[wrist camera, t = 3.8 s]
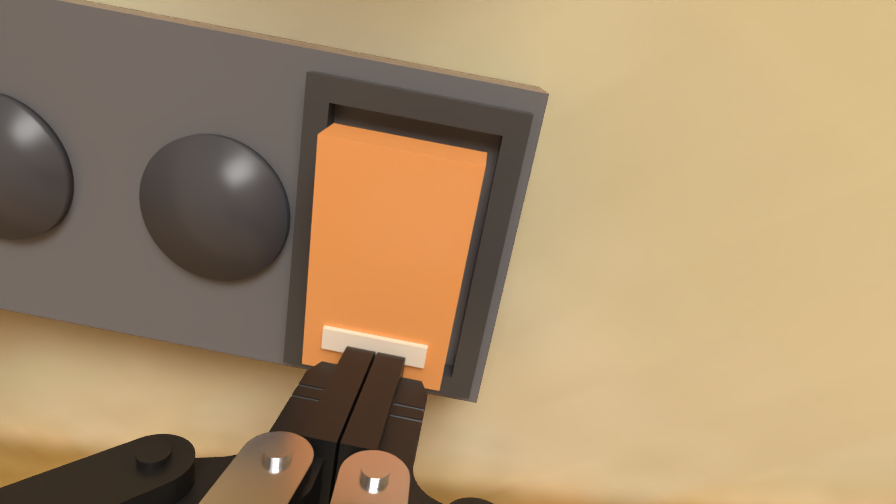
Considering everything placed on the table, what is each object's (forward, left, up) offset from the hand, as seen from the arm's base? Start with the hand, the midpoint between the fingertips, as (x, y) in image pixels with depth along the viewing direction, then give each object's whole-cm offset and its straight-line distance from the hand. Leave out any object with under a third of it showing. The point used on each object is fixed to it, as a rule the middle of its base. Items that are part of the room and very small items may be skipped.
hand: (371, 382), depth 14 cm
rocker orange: (-3, 0, -1) cm, 3 cm away
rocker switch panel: (-3, -8, -5) cm, 10 cm away
